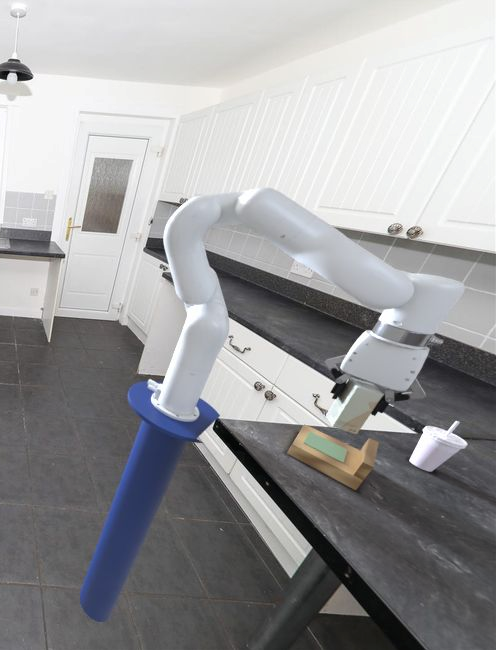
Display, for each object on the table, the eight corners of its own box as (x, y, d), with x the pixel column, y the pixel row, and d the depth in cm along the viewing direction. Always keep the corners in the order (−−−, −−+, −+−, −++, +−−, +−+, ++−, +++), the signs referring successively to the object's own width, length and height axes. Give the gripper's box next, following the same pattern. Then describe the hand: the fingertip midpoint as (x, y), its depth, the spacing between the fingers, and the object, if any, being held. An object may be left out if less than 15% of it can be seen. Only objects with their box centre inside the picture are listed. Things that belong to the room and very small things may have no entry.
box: (357, 435, 74) (385, 395, 69) (331, 426, 76) (357, 387, 71) (348, 422, 78) (374, 383, 74) (324, 414, 80) (349, 376, 76)
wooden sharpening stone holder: (286, 453, 81) (300, 431, 78) (299, 432, 88) (311, 412, 85) (355, 490, 72) (373, 467, 69) (362, 464, 80) (378, 442, 77)
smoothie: (399, 461, 82) (435, 416, 76) (402, 451, 85) (436, 408, 80) (440, 480, 77) (481, 434, 72) (441, 469, 81) (481, 424, 75)
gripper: (467, 348, 64) (411, 421, 71) (344, 315, 76) (307, 380, 83) (470, 358, 59) (410, 435, 66) (339, 321, 72) (300, 389, 79)
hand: (353, 404), depth 75 cm, fingers closed on box, 5 cm apart
